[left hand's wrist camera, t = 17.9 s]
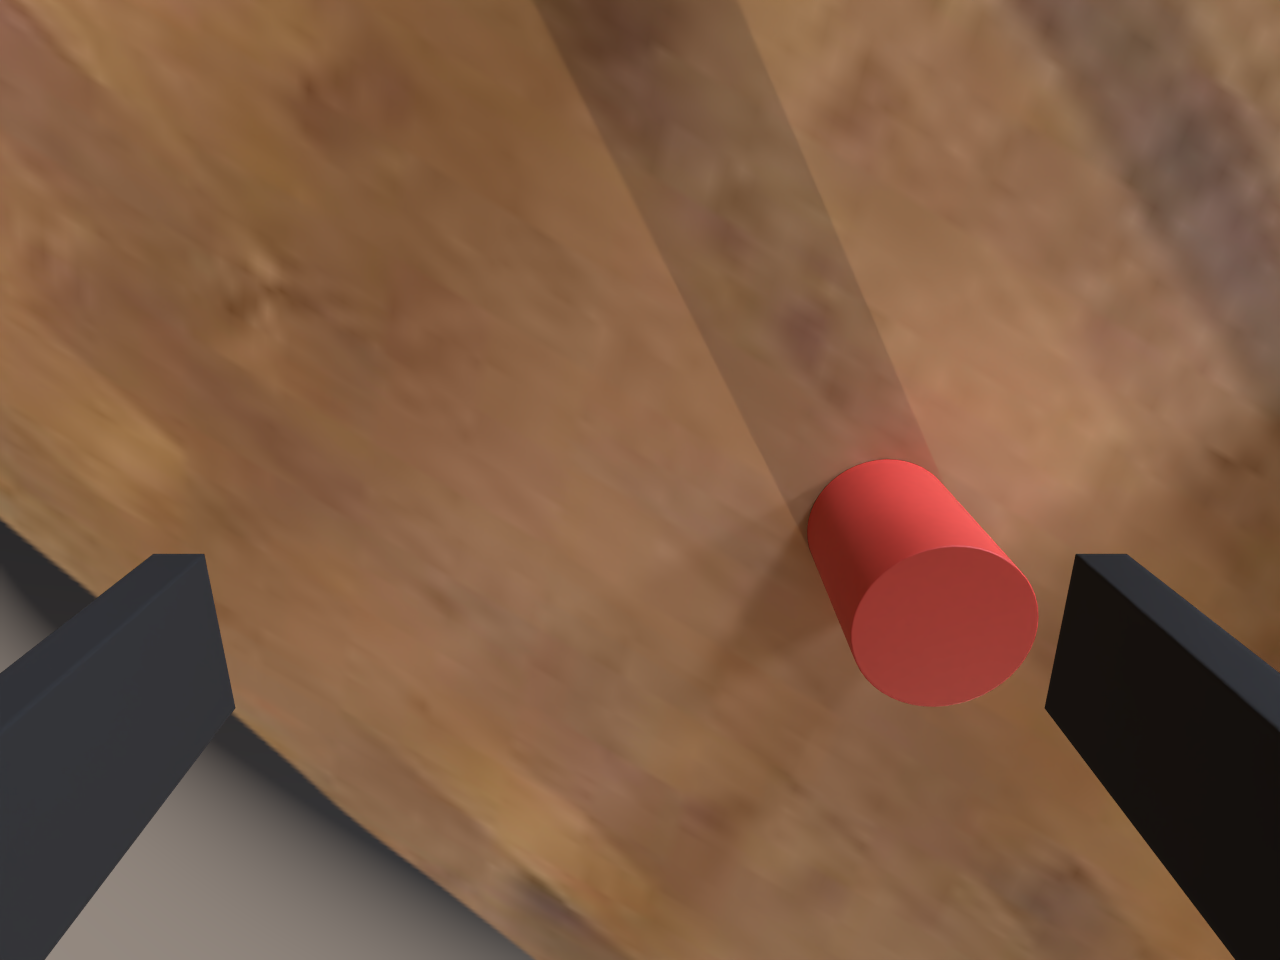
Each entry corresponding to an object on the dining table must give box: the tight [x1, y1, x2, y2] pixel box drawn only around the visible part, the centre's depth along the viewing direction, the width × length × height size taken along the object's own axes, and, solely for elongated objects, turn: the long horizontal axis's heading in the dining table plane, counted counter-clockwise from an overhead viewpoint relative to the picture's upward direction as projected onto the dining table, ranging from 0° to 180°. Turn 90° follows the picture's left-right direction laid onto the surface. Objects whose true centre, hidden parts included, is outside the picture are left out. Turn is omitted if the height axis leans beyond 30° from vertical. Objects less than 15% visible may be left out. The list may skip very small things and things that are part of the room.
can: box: [807, 459, 1038, 707], centre depth 36 cm, size 7×7×10 cm
